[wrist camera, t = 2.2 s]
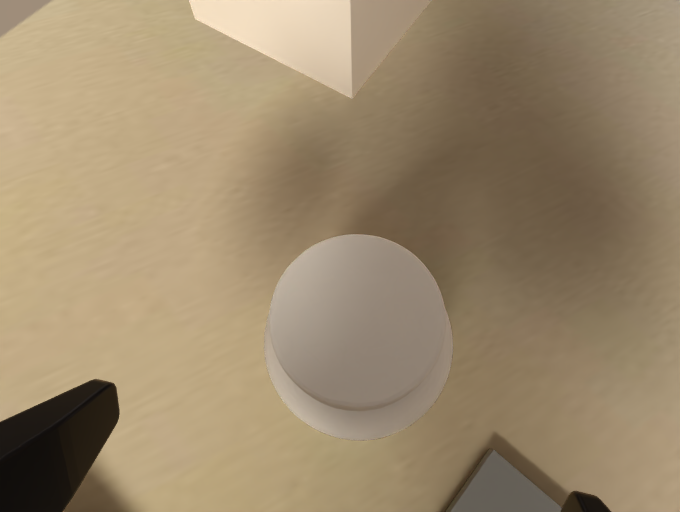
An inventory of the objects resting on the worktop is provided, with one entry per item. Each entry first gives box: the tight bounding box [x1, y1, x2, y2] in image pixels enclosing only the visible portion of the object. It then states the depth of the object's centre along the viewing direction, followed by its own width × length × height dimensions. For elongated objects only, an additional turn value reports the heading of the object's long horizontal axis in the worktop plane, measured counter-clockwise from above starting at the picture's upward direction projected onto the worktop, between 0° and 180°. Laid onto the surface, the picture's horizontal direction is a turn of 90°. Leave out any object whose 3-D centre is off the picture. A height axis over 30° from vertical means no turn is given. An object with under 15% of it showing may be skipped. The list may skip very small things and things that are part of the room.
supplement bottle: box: [264, 234, 453, 441], centre depth 14 cm, size 5×5×10 cm
